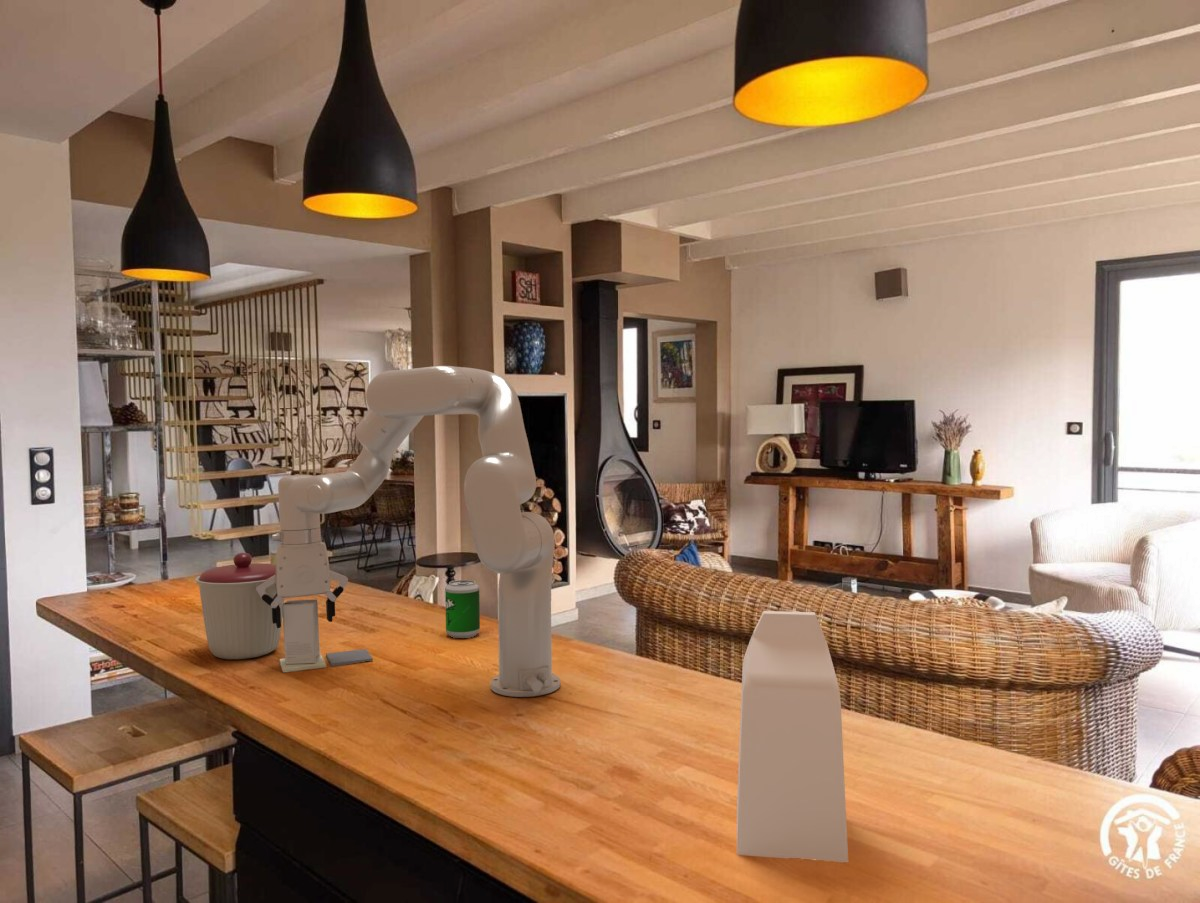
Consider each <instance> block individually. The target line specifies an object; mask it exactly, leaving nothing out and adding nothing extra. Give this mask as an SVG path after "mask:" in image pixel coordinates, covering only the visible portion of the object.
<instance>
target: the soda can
mask: <svg viewBox="0 0 1200 903" xmlns="http://www.w3.org/2000/svg"><path fill="white" fill-rule="evenodd" d="M444 589H445V591H444V592H445V593H444V594H445V597H444V598H445V599H444V600H445V632H446V634H447V635H448V636H449V637H450V636H451V637H454V638H453V639H455V638H467V639H471V637H472V638H474V636H475V637H476V636H477V634H479V632H480V630H481V626H480V625H481V623H480V622H481V618H480V616H481V615H480V610H481V609H480V604H481V603H480V586H479V585H478V584H477V583H476V581H475V580H472V579H471V580H470V579H459V580H453V581H449V582H448V584H447V585H446V587H445V588H444ZM451 637H450V638H451Z"/></svg>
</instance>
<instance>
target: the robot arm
mask: <svg viewBox="0 0 1200 903" xmlns="http://www.w3.org/2000/svg"><path fill="white" fill-rule="evenodd" d="M365 401H366V403H367V407H368V408H369V410H368V411H367V412H366V414H365V415H364V416H363V417H362V419H361V420H360V421H359V423H358V424H357V425H356V426H355V430H354V432H355V437H356V439H357V441H358V442H359V443H360V445H361V446H362V449H361V451H360V453H359V454H358V456H357V458H356V459H355V460H354V461H353V463H352V464H351V465H350V466H349V467H348V469H346V471H342V472H333V473H324V474H318V475H313V474H294V475H285V476H283V477H281V478H280V479H279V481H278V485H277V486H278V487H277V488H278V489H277V490H278V510H279V511H278V513H279V514H278V515H279V531H278V532H276V533H272V541H273V542H275V541H276V542H279V543H280V545H277V547H276V549H277V551H276V562H275V575H274V576H272V577H270V578H269V579H267V580H265V581H263V582H262V583H260V584H258V585H257V586H256V590H257V592H258V593H259V595H260V596H261V598H262V600H263V601H265V602H266V603H267V604H268V605H270V606H271V607H272V622H273V624H274V623H276V626H277V628H280V627H281V628H282V626H281V612H280V606H279V603H280V602H281V601H282V599H283V598H284V599H289V598H290V599H291V598H299V597H301V598H302V597H309V596H317V595H324V596H326V598H327V599H326V600H325V605H326V606H325V608H326V610H325V612H326V620H327V621H328V622H329V623H331V622H333V617H336V601H337V599H338V598H339V597H340V595H342V593H343V592H344V589H345V588H346V586H347V584H348V581H349V578H348V577H347V576H345V575H343V574H341V573H338V572H336V571H333V570H331V569H330V563H329V555H328V549H327V545H326V542H323V541H322V538H321V537H322V536H321V534H322V533H321V516H320V515H321V514H323V515H324V514H325V515H326V514H332V513H336V512H341V511H347V510H351V509H352V510H353V509H356V508H358V507H361V505H363V504H364V503H365V502H366V501H368V500H369V499H370V498H371V497H372V495H373V494H374V493H375V492H376V490H377V489H378V488H379V487H381V485H382V483H384V480H385V479H386V477H387V476H388V473H389V471H390V468H391V465H392V459H393V456H394V455H393V454H394V453H395V452H396V451H397V450H398V448H399V447H400V446H401V444H403V442H404V441H405V439H407V437H408V436H409V435H410V434H411V432H413V430H414V429H415V428H416V426H418V424H419V423H420V421H421V420H422V419H423V418H424V417H425V416H433V415H434V416H436V415H437V416H438V415H439V416H440V415H442V416H443V415H476V416H477V417H478V425H477V437H478V441H479V445H480V449H481V454H482V455H481V456H482V457H481V458H479V459H476V460H475V461H474V462H473V463H472V464H471V465H470V467H468V469H467V472H466V474H465V477H464V482H463V494H464V501H465V505H466V510H467V515H468V519H469V520H468V521H469V523H470V524H469V525H470V529H471V534H472V540H473V544H474V547H475V550H476V555H477V556H478V558H479V560H480V562H481V563H482V565H483V566H484V567H485V568H486V569H488V570H489V571H491V572H493V573H495V574H498V575H499V577H498V588H497V589H498V590H497V591H498V592H497V595H498V596H497V600H498V602H497V603H498V604H497V605H498V607H497V610H498V611H497V612H498V620H497V621H498V675H496V676H494V677H493V678H492V679H491V680H490V689H491V690H492V692H494V693H495V694H498V695H501V696H506V697H512V698H513V697H514V698H530V697H531V698H532V697H540V696H544V695H548V694H551V693H553V692H555V691H557V690H558V689H559V688H560V687H561V678H560V677H559V676H558V675H556V674H555V673H553V672H552V670H553V669H552V666H553V665H552V659H553V658H552V652H553V650H552V573H553V572H552V571H553V563H554V557H555V556H554V555H555V546H556V545H555V534H554V531H553V527H552V525H551V524H550V522H549V521H548V520H547V519H546V518H545V517H543V516H542V515H541V514H539V513H537V512H532V511H522V510H521V506H520V505H522V504H524V503H526V502H528V501H529V500H530V499H532V497H533V496H534V495H535V492H536V488H537V478H536V472H535V468H534V463H533V459H532V455H531V449H530V446H529V445H530V444H529V441H528V437H527V433H526V432H527V431H526V428H525V423H524V418H523V413H522V408H521V402H520V400H519V397H518V395H517V392H516V390H515V388H514V387H513V386H512V384H511V383H510V382H509V381H508V380H507V379H506V378H504V377H503V376H501V375H500V374H497V373H496V372H495V373H494V372H491V371H488V370H485V369H479V368H473V367H467V366H463V367H461V366H453V365H434V366H426V367H424V366H423V367H416V368H406V369H405V368H404V369H396V370H395V369H394V370H385V371H382V372H380V373H378V374H376V375H375V376H374V377H373V378H372V379H371V380H370V382H369V383H368V385H367V388H366V392H365ZM331 579H334V580H336V581H338V584H337V586H336V588H334V590H332V591H331ZM274 583H275V588H276V595H275V596H274V597H273V598H271V597H270V596H269V595H268V594H267V593H266V592H265V589H266V588H267V587H269V586H271V585H272V584H274Z"/></svg>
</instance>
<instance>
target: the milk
mask: <svg viewBox="0 0 1200 903" xmlns="http://www.w3.org/2000/svg"><path fill="white" fill-rule="evenodd" d="M741 671H742V672H741V673H742V674H741V695H740V697H741V698H740V700H741V701H740V723H739V741H738V742H739V744H738V745H739V746H738V750H739V751H738V766H737V767H738V771H737V794H736V795H737V796H736V855H737V856H750V857H762V858H764V857H765V858H775V859H776V858H778V859H779V858H780V859H789V858H804V859H816V860H815V861H817V860H827V861H826V862H830V861H836V862H835V863H844V862H848V863H849V853H848V852H849V848H848V830H847V829H848V828H847V826H848V825H847V809H846V808H847V807H846V784H845V767H844V766H845V765H844V764H845V763H844V744H843V743H844V742H843V725H842V724H843V723H842V722H843V721H842V702H841V693H840V687H839V683H838V682H839V681H838V678H837V674H836V671H835V667H834V664H833V661H832V656H831V652H830V650H829V646H828V643H827V639H826V636H825V634H824V630H823V629H822V627H821V624H820V622H819V619H818V617H817V614H816V612H815V611H814V612H811V611H785V610H784V611H783V610H781V611H777V610H763V611H762V613H761V615H760V617H759V619H758V621H757V623H756V626H755V628H754V630H753V632H752V635H751V637H750V639H749V643H748V645H747V648H746V650H745V654H744V657H743V660H742V670H741ZM837 861H838V862H837Z"/></svg>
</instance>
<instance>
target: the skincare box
mask: <svg viewBox="0 0 1200 903" xmlns="http://www.w3.org/2000/svg"><path fill="white" fill-rule="evenodd" d="M318 603H319V602H318V599H295V600H294V599H293V600H292V599H291V600H286V601H284V604H283V605H282V611H283V618H282V625H283V644H284V645H283V647H284V648H283V649H284V658H285V664H304V663H316V662H317V661H318V660H319V658H320V654H321V651H320V650H321V649H320V631H319V630H320V629H319V610H318V608H319V607H318V606H319V604H318Z"/></svg>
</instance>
